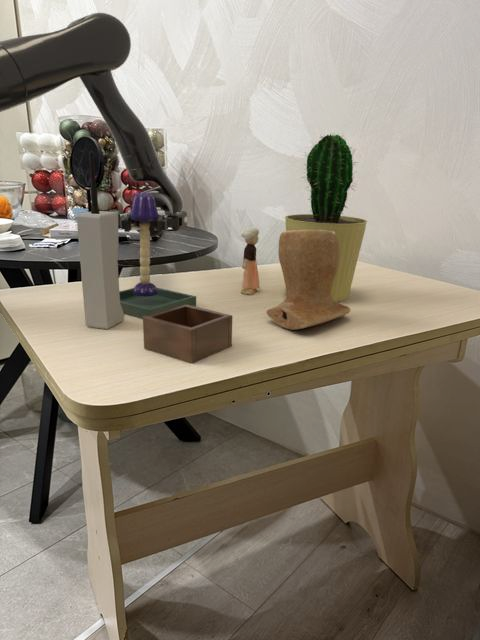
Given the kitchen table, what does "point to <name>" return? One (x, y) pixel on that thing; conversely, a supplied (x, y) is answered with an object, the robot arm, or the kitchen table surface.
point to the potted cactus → (332, 206)
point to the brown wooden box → (187, 332)
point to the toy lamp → (144, 240)
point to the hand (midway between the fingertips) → (143, 225)
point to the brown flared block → (308, 279)
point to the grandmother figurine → (250, 261)
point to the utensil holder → (99, 262)
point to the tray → (153, 302)
